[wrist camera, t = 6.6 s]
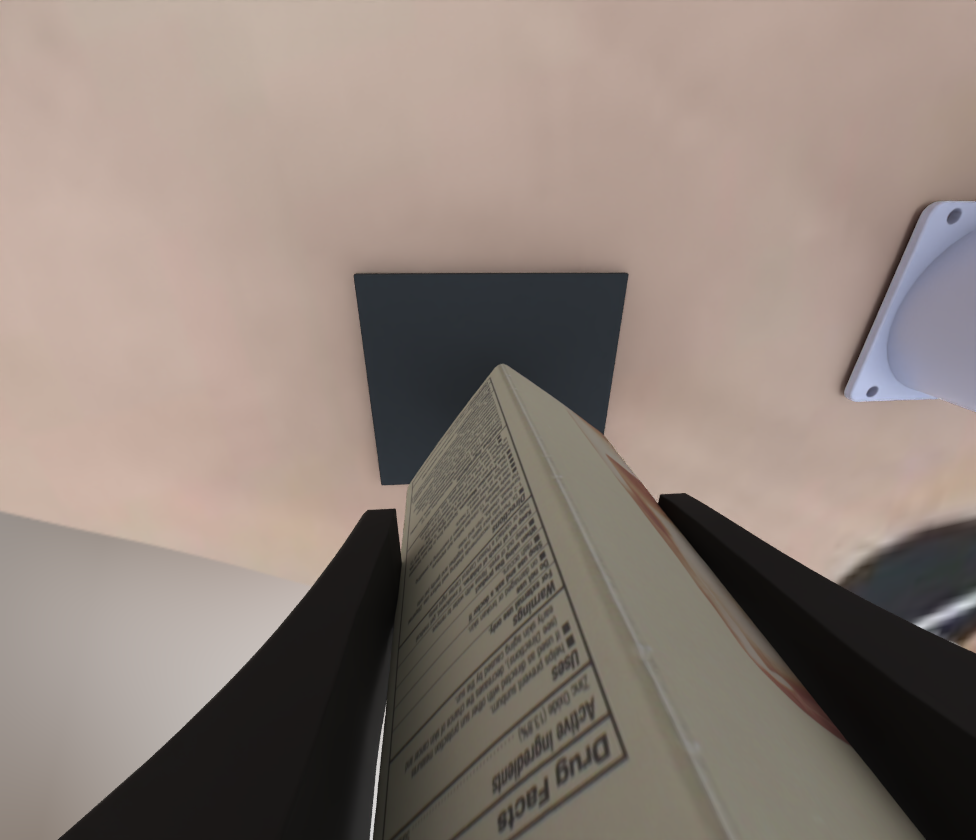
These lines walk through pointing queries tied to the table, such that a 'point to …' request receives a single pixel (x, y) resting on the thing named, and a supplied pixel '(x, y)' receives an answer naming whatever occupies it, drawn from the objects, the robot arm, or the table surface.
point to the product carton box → (588, 661)
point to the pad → (480, 348)
